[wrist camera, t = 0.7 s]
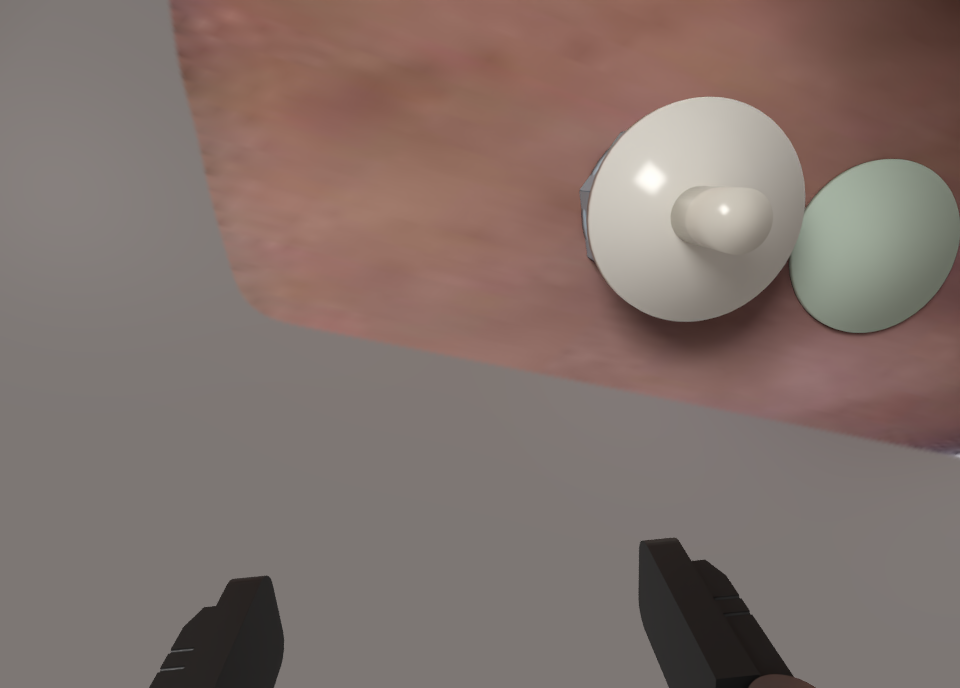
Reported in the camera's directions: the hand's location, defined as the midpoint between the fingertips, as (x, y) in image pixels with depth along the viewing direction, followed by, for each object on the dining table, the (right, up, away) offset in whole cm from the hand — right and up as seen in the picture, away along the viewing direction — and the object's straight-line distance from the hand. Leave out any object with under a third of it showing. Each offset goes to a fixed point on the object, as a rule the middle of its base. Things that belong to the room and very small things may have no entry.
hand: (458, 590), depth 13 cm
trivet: (+26, +11, +25) cm, 38 cm away
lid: (+12, +12, +19) cm, 25 cm away
